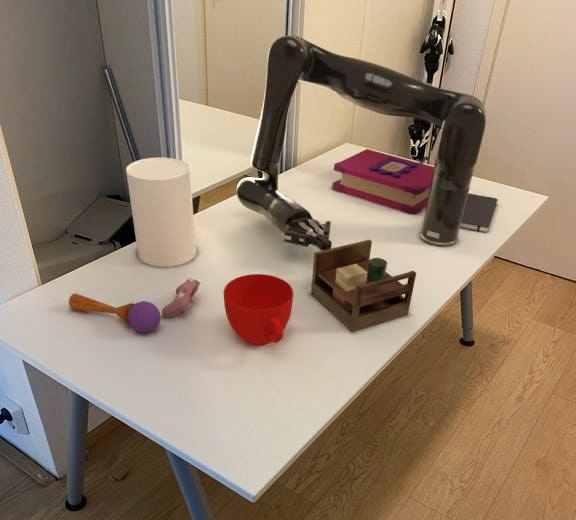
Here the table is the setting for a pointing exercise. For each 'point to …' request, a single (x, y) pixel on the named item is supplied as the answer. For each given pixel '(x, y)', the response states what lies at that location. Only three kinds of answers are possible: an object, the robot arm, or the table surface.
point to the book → (385, 180)
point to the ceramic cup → (258, 307)
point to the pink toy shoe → (181, 298)
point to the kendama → (122, 312)
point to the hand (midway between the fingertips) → (328, 247)
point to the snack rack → (359, 286)
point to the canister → (162, 210)
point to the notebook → (478, 212)
